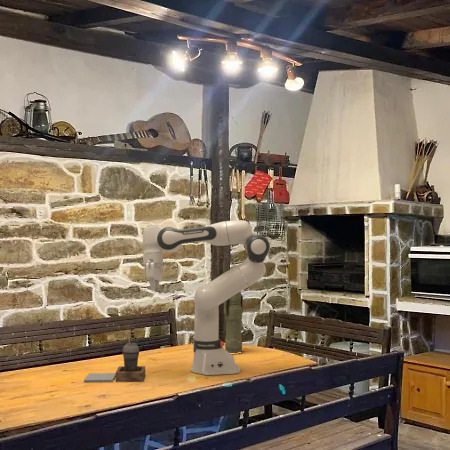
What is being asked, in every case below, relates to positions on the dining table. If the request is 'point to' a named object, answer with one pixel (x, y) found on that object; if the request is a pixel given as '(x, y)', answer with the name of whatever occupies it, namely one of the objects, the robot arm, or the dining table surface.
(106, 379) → the slate mat
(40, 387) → the dining table surface
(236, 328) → the thermos
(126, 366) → the beverage cup
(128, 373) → the walnut collar
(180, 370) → the dining table surface
